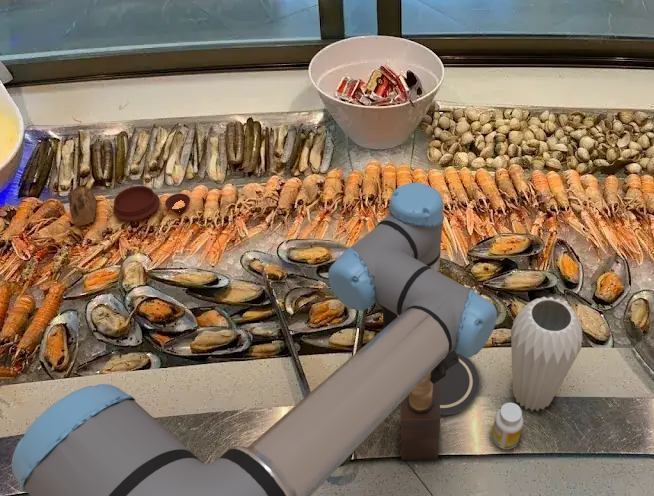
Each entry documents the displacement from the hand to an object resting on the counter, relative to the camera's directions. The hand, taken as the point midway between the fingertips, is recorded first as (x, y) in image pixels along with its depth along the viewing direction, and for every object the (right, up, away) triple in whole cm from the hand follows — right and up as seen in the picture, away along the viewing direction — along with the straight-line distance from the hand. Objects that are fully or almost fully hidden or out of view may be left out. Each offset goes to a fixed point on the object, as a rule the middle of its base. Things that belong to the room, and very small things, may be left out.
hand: (413, 352), depth 116 cm
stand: (+1, -21, +13) cm, 25 cm away
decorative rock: (-86, +23, +59) cm, 107 cm away
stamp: (+1, -10, +3) cm, 10 cm away
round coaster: (+6, -11, +23) cm, 27 cm away
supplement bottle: (+18, -20, +14) cm, 31 cm away
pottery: (-69, +25, +61) cm, 96 cm away
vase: (+25, -14, +22) cm, 35 cm away
